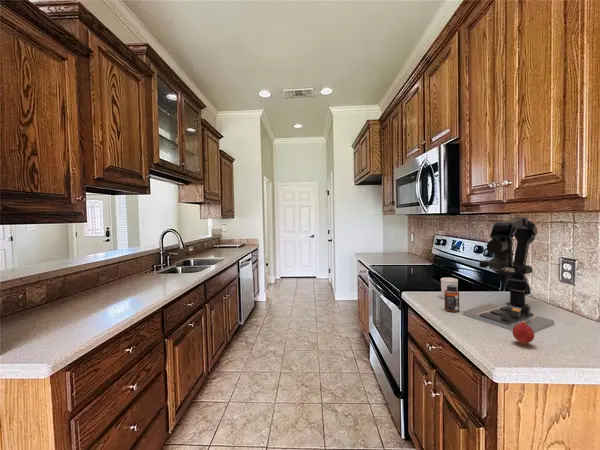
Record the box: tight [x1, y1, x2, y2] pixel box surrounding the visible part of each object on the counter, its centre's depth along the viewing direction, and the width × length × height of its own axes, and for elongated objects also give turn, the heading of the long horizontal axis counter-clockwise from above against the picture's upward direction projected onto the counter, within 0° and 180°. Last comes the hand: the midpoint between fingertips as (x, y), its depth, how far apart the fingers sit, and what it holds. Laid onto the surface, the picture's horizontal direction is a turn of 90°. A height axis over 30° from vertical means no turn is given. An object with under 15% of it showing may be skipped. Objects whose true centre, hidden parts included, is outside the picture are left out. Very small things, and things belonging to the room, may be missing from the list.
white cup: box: [440, 277, 459, 300], centre depth 147 cm, size 8×8×10 cm
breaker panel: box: [462, 303, 555, 333], centre depth 118 cm, size 20×24×5 cm
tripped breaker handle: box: [511, 307, 521, 317], centre depth 115 cm, size 2×2×3 cm
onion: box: [512, 321, 535, 346], centre depth 96 cm, size 6×6×8 cm
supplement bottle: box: [444, 285, 460, 313], centre depth 130 cm, size 6×6×11 cm
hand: (504, 285), depth 126 cm, fingers closed
